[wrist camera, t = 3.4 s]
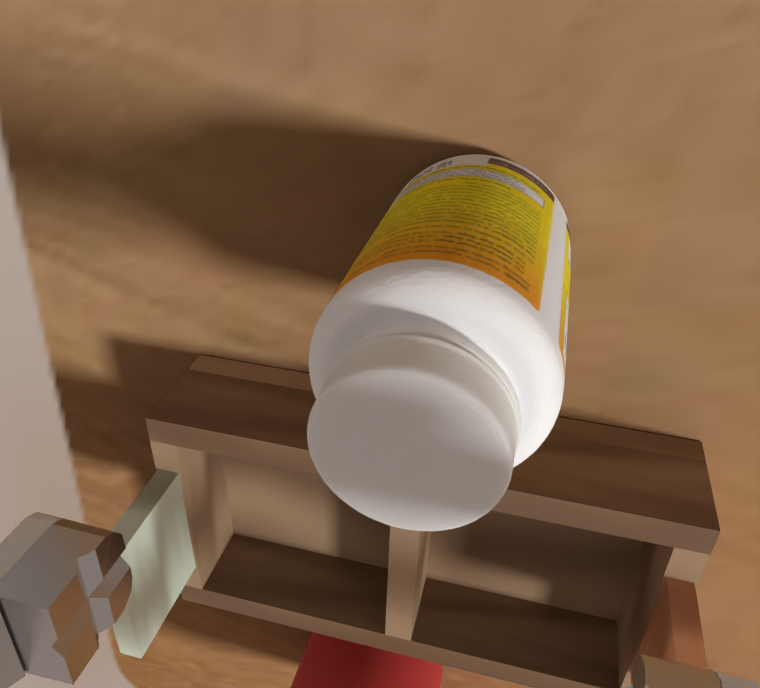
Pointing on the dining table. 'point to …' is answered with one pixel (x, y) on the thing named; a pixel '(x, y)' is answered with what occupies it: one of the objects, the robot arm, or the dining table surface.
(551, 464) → the wooden compartment tray
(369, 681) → the beer can
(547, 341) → the supplement bottle
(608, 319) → the dining table surface
